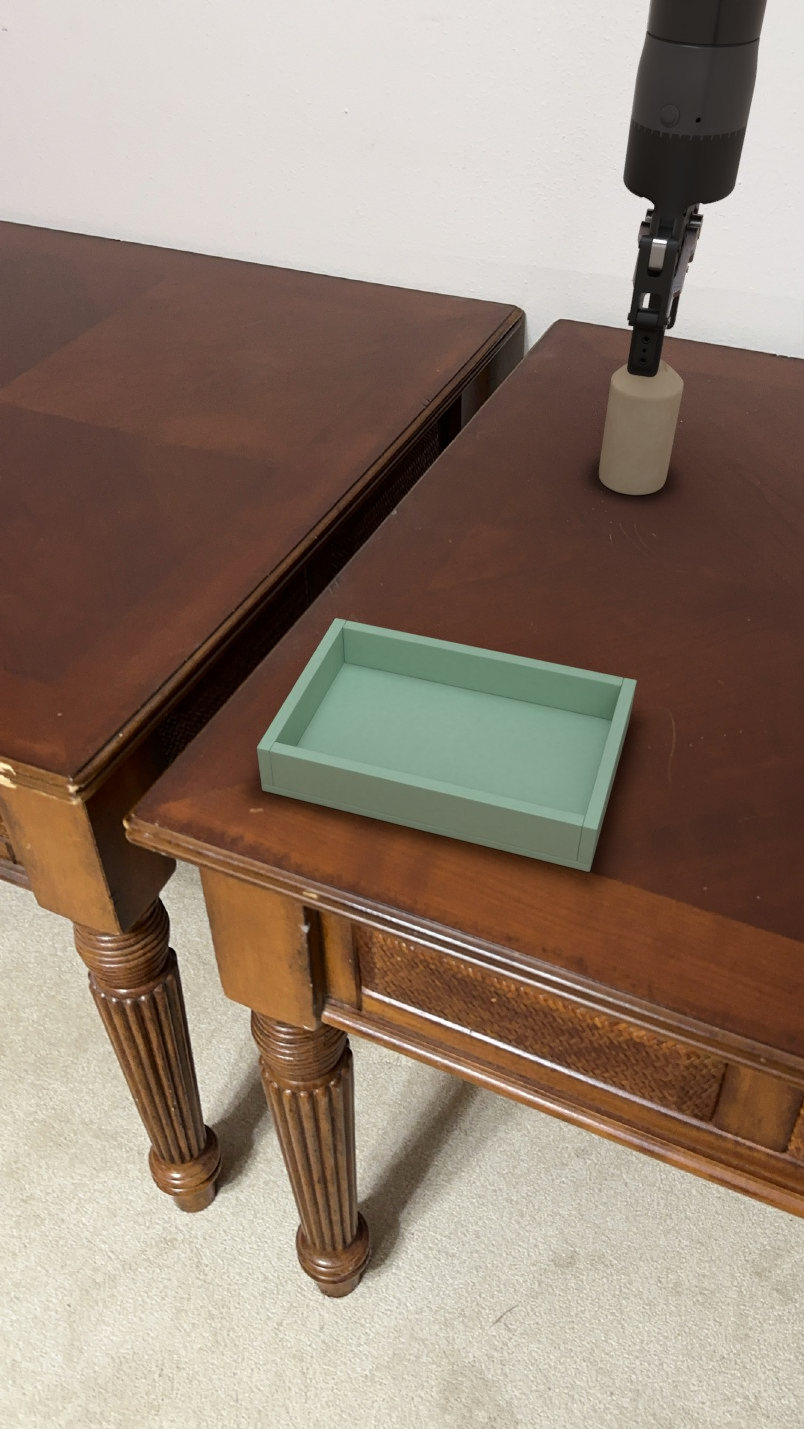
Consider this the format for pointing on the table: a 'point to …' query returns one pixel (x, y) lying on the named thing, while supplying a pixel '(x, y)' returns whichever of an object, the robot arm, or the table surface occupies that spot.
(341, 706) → the tray
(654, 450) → the candle
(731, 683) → the table surface
